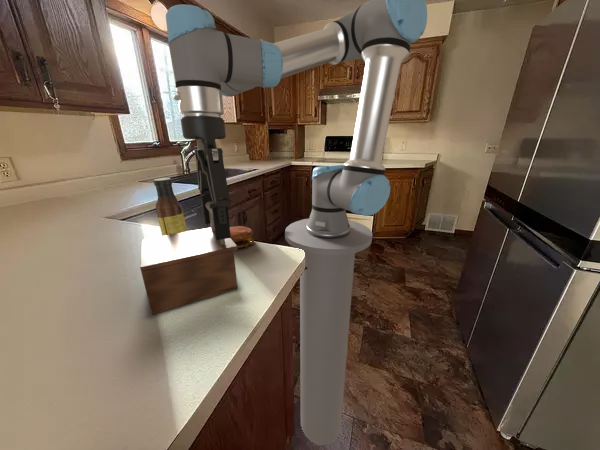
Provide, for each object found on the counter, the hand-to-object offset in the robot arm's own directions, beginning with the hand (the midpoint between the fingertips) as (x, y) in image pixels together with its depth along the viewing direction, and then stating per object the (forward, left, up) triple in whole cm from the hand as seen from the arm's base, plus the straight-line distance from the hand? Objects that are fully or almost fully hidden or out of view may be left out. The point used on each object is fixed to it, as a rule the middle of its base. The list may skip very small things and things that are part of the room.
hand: (216, 229), depth 52 cm
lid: (+6, 0, -2) cm, 6 cm away
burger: (-9, -16, -11) cm, 21 cm away
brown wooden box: (+6, 0, -11) cm, 13 cm away
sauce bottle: (+7, -21, -11) cm, 25 cm away
